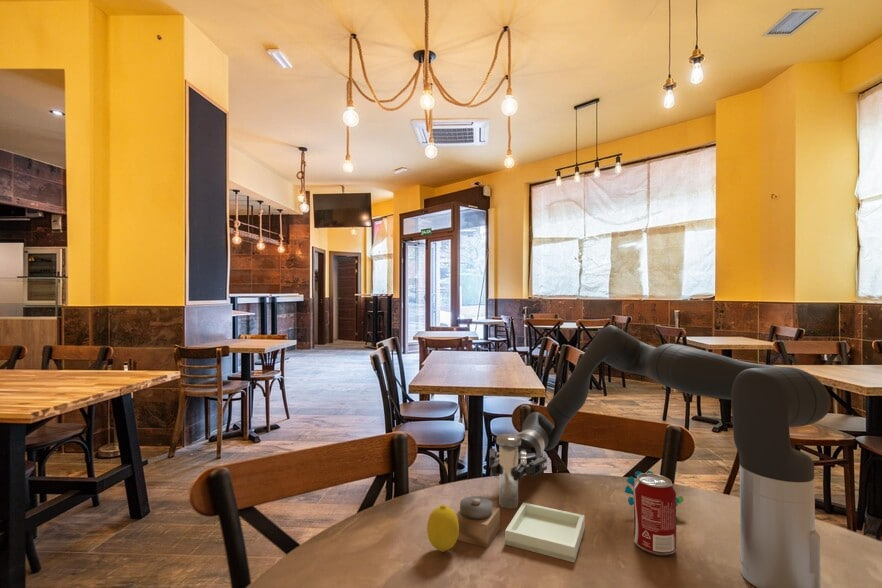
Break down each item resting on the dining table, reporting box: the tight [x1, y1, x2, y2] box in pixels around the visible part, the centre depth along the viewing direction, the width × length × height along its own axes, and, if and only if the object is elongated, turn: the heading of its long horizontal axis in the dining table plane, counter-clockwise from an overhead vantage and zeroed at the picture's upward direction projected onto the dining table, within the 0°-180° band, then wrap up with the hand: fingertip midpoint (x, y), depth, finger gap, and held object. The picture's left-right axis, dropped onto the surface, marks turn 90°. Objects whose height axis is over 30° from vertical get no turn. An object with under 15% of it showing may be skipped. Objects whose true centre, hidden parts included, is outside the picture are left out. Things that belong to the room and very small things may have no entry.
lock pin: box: [496, 433, 521, 510], centre depth 92 cm, size 5×5×14 cm
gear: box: [624, 470, 684, 508], centre depth 90 cm, size 11×6×10 cm
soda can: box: [633, 472, 677, 557], centre depth 76 cm, size 7×7×12 cm
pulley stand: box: [454, 495, 501, 549], centre depth 80 cm, size 7×7×6 cm
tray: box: [504, 502, 586, 563], centre depth 80 cm, size 12×12×2 cm
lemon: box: [426, 504, 459, 553], centre depth 75 cm, size 6×6×8 cm
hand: (504, 473), depth 90 cm, fingers closed on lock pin, 4 cm apart
